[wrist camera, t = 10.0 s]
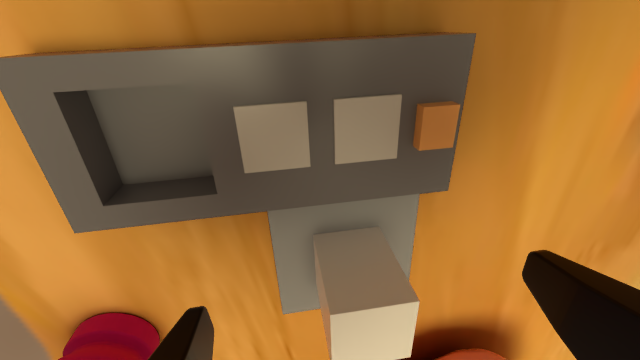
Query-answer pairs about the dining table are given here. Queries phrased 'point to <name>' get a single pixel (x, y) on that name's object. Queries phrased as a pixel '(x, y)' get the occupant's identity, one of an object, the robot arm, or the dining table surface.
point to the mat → (302, 223)
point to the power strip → (240, 124)
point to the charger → (364, 296)
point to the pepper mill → (112, 339)
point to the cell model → (471, 355)
